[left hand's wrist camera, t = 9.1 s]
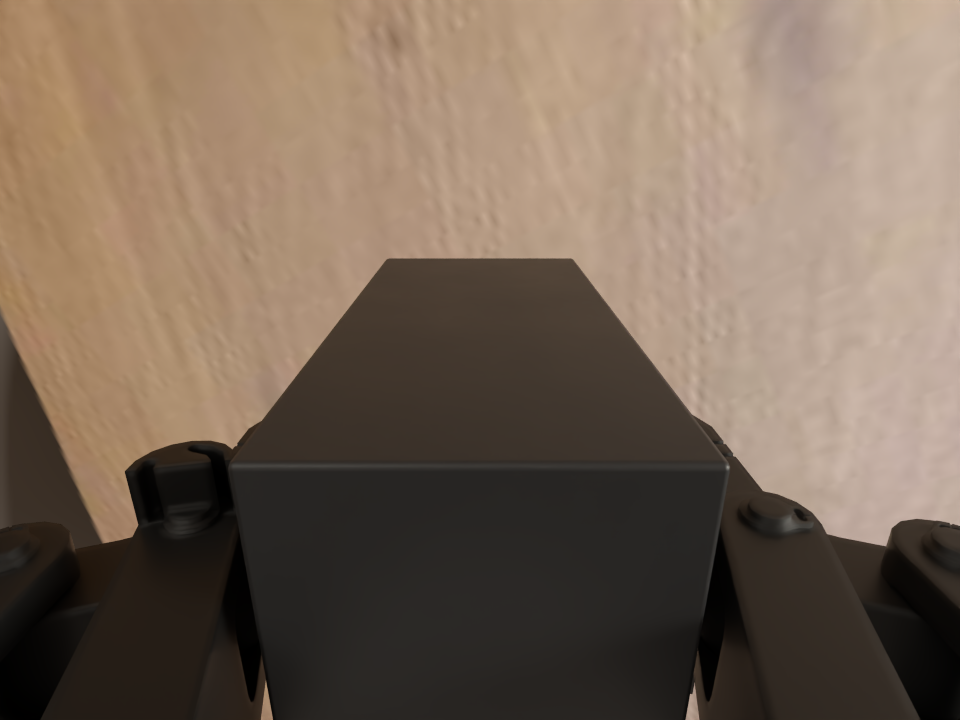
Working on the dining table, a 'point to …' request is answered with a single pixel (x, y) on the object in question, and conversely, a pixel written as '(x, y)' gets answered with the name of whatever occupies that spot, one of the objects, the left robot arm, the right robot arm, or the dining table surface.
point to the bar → (479, 508)
